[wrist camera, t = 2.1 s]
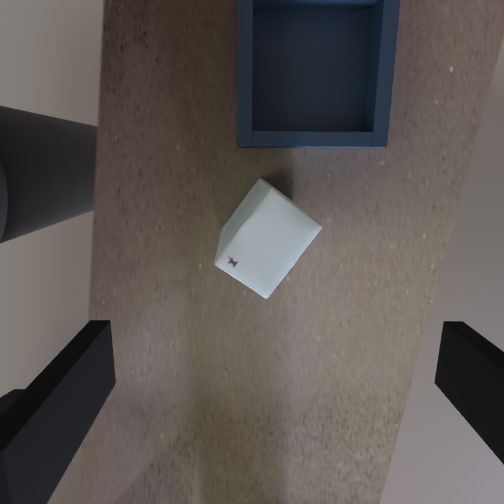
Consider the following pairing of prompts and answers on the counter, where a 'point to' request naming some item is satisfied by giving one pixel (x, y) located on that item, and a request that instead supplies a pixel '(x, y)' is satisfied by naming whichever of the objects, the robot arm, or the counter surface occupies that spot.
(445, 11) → the counter surface
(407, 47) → the counter surface
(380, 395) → the counter surface
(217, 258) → the cosmetic box
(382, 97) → the holder
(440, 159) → the counter surface
